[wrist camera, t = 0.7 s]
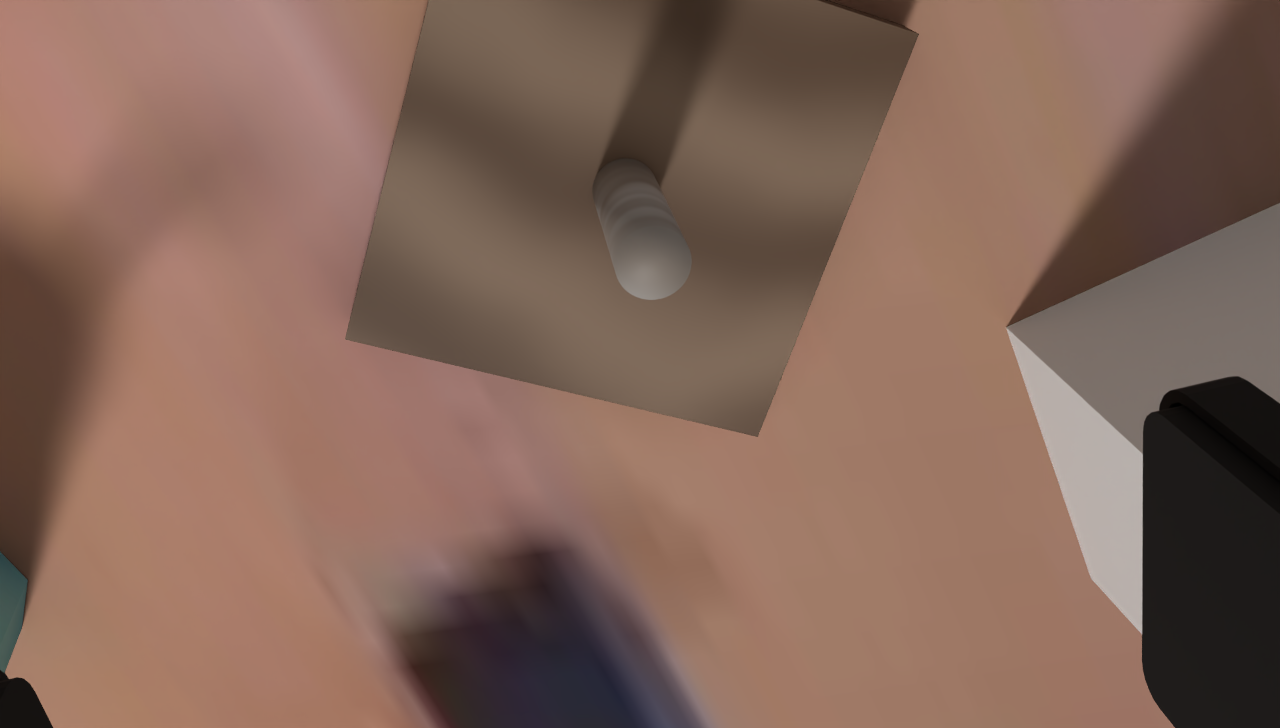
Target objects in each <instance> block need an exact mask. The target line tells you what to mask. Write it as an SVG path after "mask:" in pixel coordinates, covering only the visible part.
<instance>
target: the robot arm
mask: <svg viewBox="0 0 1280 728" xmlns="http://www.w3.org/2000/svg"><path fill="white" fill-rule="evenodd" d="M1142 664H1143V672H1144V676H1145V680H1146V683H1147V685H1148V688H1149V691H1150V693H1151V695H1152V697H1153V699H1154V701H1155V702H1156V704H1157V705H1158V707H1159V708H1160V709H1161V711H1162V712H1163V713H1164V714H1165V716H1166V717H1167V718H1168V719H1169V721H1170V722H1171V723H1172V724H1173V726H1174V727H1175V728H1280V403H1279V402H1277V401H1276V400H1274V399H1273V398H1271V397H1270V396H1269V395H1267V394H1266V393H1264V392H1263V391H1262V390H1260V389H1259V388H1257V387H1256V386H1255V385H1253V384H1252V383H1250V382H1249V381H1247V380H1245V379H1243V378H1241V377H1239V376H1231V377H1226V378H1221V379H1217V380H1213V381H1209V382H1204V383H1200V384H1196V385H1191V386H1187V387H1183V388H1178V389H1174V390H1170V391H1169V392H1167V393H1166V394H1165V395H1164V396H1163V398H1162V400H1161V403H1160V406H1159V411H1155V412H1151V413H1150V414H1149V415H1147V416H1146V419H1145V421H1144V426H1143V546H1142ZM0 728H53V727H52V725H51V723H50V721H49V719H48V717H47V715H46V713H45V711H44V709H43V707H42V705H41V703H40V701H39V699H38V697H37V695H36V693H35V691H34V690H33V688H32V686H31V685H30V684H29V683H28V682H27V681H26V680H25V679H23V678H13V679H8V677H7V676H6V674H5V673H4V672H2V671H1V670H0Z"/></svg>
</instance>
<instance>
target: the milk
mask: <svg viewBox="0 0 1280 728" xmlns="http://www.w3.org/2000/svg"><path fill="white" fill-rule="evenodd" d="M1006 329H1007V332H1008V335H1009V338H1010V341H1011V344H1012V347H1013V349H1014V352H1015V355H1016V358H1017V361H1018V364H1019V367H1020V370H1021V373H1022V376H1023V379H1024V382H1025V385H1026V388H1027V391H1028V394H1029V397H1030V400H1031V403H1032V406H1033V409H1034V412H1035V414H1036V417H1037V420H1038V423H1039V426H1040V429H1041V432H1042V435H1043V438H1044V441H1045V444H1046V447H1047V450H1048V453H1049V456H1050V459H1051V462H1052V465H1053V468H1054V471H1055V474H1056V476H1057V479H1058V482H1059V485H1060V488H1061V491H1062V494H1063V497H1064V500H1065V503H1066V506H1067V509H1068V512H1069V515H1070V518H1071V521H1072V524H1073V527H1074V530H1075V533H1076V536H1077V538H1078V541H1079V544H1080V547H1081V550H1082V553H1083V556H1084V559H1085V562H1086V565H1087V568H1088V571H1089V574H1090V577H1091V579H1092V580H1093V581H1094V582H1095V583H1096V584H1097V585H1098V586H1099V588H1100V589H1101V590H1102V591H1103V592H1104V593H1105V594H1106V595H1107V596H1108V597H1109V599H1110V600H1111V601H1112V602H1113V603H1114V604H1115V605H1116V606H1117V607H1118V608H1119V610H1120V611H1121V612H1122V613H1123V614H1124V615H1125V616H1126V617H1127V618H1128V619H1129V621H1130V622H1131V623H1132V624H1133V625H1134V626H1135V627H1136V628H1137V629H1138V630H1139V632H1140V633H1141V634H1142V546H1143V426H1144V421H1145V419H1146V416H1147V415H1149V414H1150V413H1151V412H1155V411H1159V406H1160V403H1161V400H1162V398H1163V396H1164V395H1165V394H1166V393H1167V392H1169V391H1170V390H1174V389H1178V388H1183V387H1187V386H1191V385H1196V384H1200V383H1204V382H1209V381H1213V380H1217V379H1221V378H1226V377H1231V376H1239V377H1241V378H1243V379H1245V380H1247V381H1249V382H1250V383H1252V384H1253V385H1255V386H1256V387H1257V388H1259V389H1260V390H1262V391H1263V392H1264V393H1266V394H1267V395H1269V396H1270V397H1271V398H1273V399H1274V400H1276V401H1277V402H1279V403H1280V203H1278V204H1276V205H1274V206H1272V207H1269V208H1267V209H1265V210H1263V211H1261V212H1258V213H1256V214H1254V215H1252V216H1250V217H1247V218H1245V219H1243V220H1241V221H1239V222H1236V223H1234V224H1232V225H1230V226H1228V227H1225V228H1223V229H1221V230H1219V231H1217V232H1214V233H1212V234H1210V235H1208V236H1206V237H1203V238H1201V239H1199V240H1197V241H1195V242H1192V243H1190V244H1188V245H1186V246H1184V247H1181V248H1179V249H1177V250H1175V251H1173V252H1170V253H1168V254H1166V255H1164V256H1162V257H1159V258H1157V259H1155V260H1153V261H1151V262H1148V263H1146V264H1144V265H1142V266H1140V267H1137V268H1135V269H1133V270H1131V271H1129V272H1126V273H1124V274H1122V275H1120V276H1118V277H1115V278H1113V279H1111V280H1109V281H1107V282H1104V283H1102V284H1100V285H1098V286H1096V287H1093V288H1091V289H1089V290H1087V291H1085V292H1082V293H1080V294H1078V295H1076V296H1074V297H1071V298H1069V299H1067V300H1065V301H1063V302H1060V303H1058V304H1056V305H1054V306H1052V307H1049V308H1047V309H1045V310H1043V311H1041V312H1038V313H1036V314H1034V315H1032V316H1030V317H1027V318H1025V319H1023V320H1021V321H1019V322H1016V323H1014V324H1012V325H1010V326H1008V327H1006Z"/></svg>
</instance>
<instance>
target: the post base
mask: <svg viewBox="0 0 1280 728" xmlns="http://www.w3.org/2000/svg"><path fill="white" fill-rule="evenodd" d="M918 35H919V34H918V33H916V32H914V31H912V30H910V29H908V28H907V27H905V26H903V25H900V24H897V23H894V22H891V21H888V20H885V19H882V18H879V17H876V16H873V15H870V14H867V13H864V12H861V11H858V10H855V9H852V8H849V7H846V6H843V5H840V4H837V3H834V2H831V1H828V0H429V1H428V5H427V9H426V13H425V17H424V21H423V25H422V29H421V33H420V38H419V42H418V46H417V50H416V54H415V58H414V62H413V66H412V70H411V74H410V78H409V82H408V86H407V90H406V94H405V98H404V102H403V106H402V110H401V115H400V119H399V123H398V127H397V131H396V135H395V139H394V143H393V147H392V151H391V155H390V159H389V163H388V167H387V171H386V175H385V179H384V183H383V187H382V191H381V196H380V200H379V204H378V208H377V212H376V216H375V220H374V224H373V228H372V232H371V236H370V240H369V244H368V248H367V252H366V256H365V260H364V264H363V268H362V272H361V277H360V281H359V285H358V289H357V293H356V297H355V301H354V305H353V309H352V313H351V317H350V321H349V325H348V329H347V334H346V338H345V339H346V340H350V341H354V342H358V343H363V344H367V345H371V346H375V347H380V348H384V349H388V350H392V351H397V352H401V353H405V354H409V355H413V356H418V357H422V358H426V359H430V360H435V361H439V362H443V363H447V364H452V365H456V366H460V367H464V368H468V369H473V370H477V371H481V372H485V373H490V374H494V375H498V376H502V377H507V378H511V379H515V380H519V381H524V382H528V383H532V384H536V385H540V386H545V387H549V388H553V389H557V390H562V391H566V392H570V393H574V394H579V395H583V396H587V397H591V398H595V399H600V400H604V401H608V402H612V403H617V404H621V405H625V406H629V407H634V408H638V409H642V410H646V411H650V412H655V413H659V414H663V415H667V416H672V417H676V418H680V419H684V420H689V421H693V422H697V423H701V424H705V425H710V426H714V427H718V428H722V429H727V430H731V431H735V432H739V433H744V434H748V435H752V436H756V437H758V434H759V432H760V429H761V427H762V424H763V422H764V419H765V417H766V414H767V412H768V409H769V407H770V405H771V402H772V400H773V397H774V395H775V392H776V390H777V387H778V385H779V382H780V380H781V377H782V375H783V372H784V370H785V367H786V365H787V362H788V360H789V357H790V355H791V352H792V350H793V347H794V345H795V342H796V340H797V337H798V335H799V332H800V330H801V327H802V325H803V322H804V320H805V317H806V315H807V312H808V310H809V307H810V305H811V302H812V300H813V297H814V295H815V292H816V290H817V287H818V285H819V282H820V280H821V277H822V275H823V272H824V270H825V267H826V265H827V262H828V260H829V257H830V255H831V252H832V250H833V247H834V245H835V242H836V240H837V237H838V235H839V232H840V230H841V227H842V225H843V222H844V220H845V217H846V215H847V212H848V210H849V207H850V205H851V202H852V200H853V197H854V195H855V192H856V190H857V187H858V185H859V182H860V180H861V177H862V175H863V172H864V170H865V167H866V165H867V162H868V160H869V157H870V155H871V152H872V150H873V147H874V145H875V142H876V140H877V137H878V135H879V132H880V130H881V127H882V125H883V122H884V120H885V117H886V115H887V112H888V110H889V107H890V105H891V102H892V100H893V97H894V95H895V92H896V90H897V87H898V85H899V82H900V80H901V77H902V75H903V72H904V70H905V67H906V65H907V62H908V60H909V57H910V55H911V52H912V50H913V47H914V45H915V42H916V40H917V37H918Z"/></svg>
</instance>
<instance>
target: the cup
mask: <svg viewBox="0 0 1280 728" xmlns="http://www.w3.org/2000/svg"><path fill="white" fill-rule="evenodd" d="M27 583H28V580H27V579H26V578H25V577H24V576H23V575H22V574H21V573H20V572H19V570H18V569H17V568H16V567H15V566H14V565H13V564H12V563H11V562H10V561H9V560H8V559H7V558H6V557H5V556H4V555H3V554H2V553H1V552H0V670H1V671H2V672H4V673H5V670H6V668H7V665H8V662H9V660H10V657H11V655H12V652H13V649H14V647H15V644H16V642H17V639H18V636H19V634H20V631H21V629H22V623H23V615H24V607H25V599H26V591H27Z"/></svg>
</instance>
